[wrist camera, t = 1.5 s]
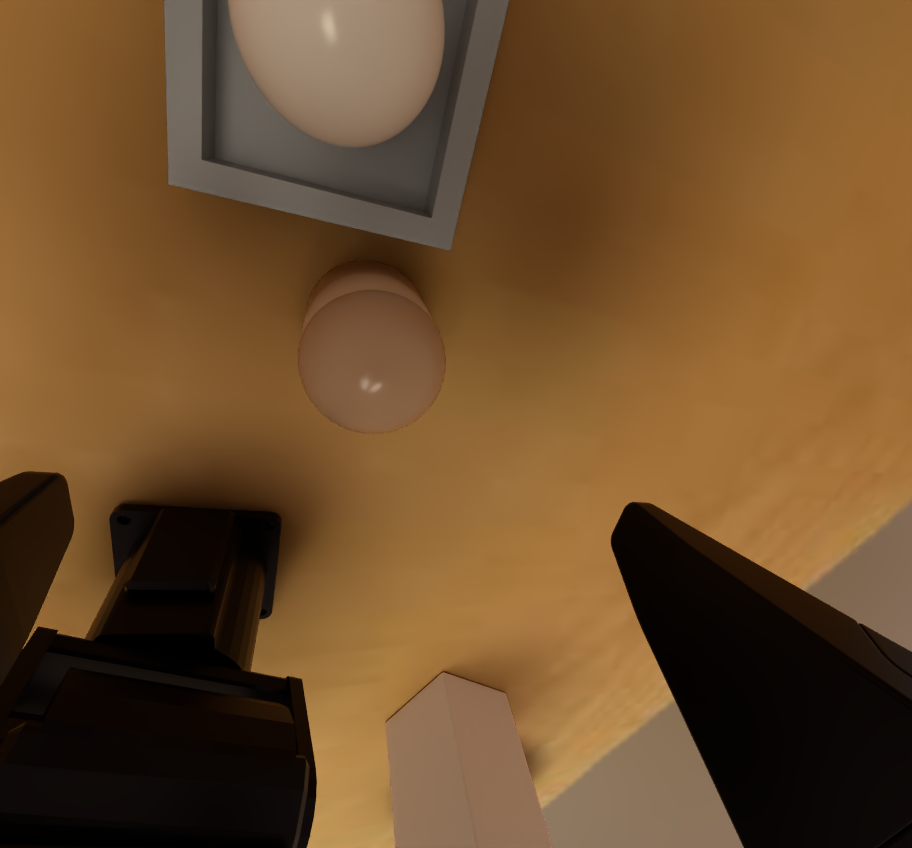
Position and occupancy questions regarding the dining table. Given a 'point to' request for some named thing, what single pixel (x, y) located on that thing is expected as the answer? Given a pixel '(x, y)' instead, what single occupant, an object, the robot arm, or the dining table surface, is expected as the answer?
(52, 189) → the dining table surface
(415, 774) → the milk
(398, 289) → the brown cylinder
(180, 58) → the grey flat rectangular tray
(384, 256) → the dining table surface
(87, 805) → the robot arm
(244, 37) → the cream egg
